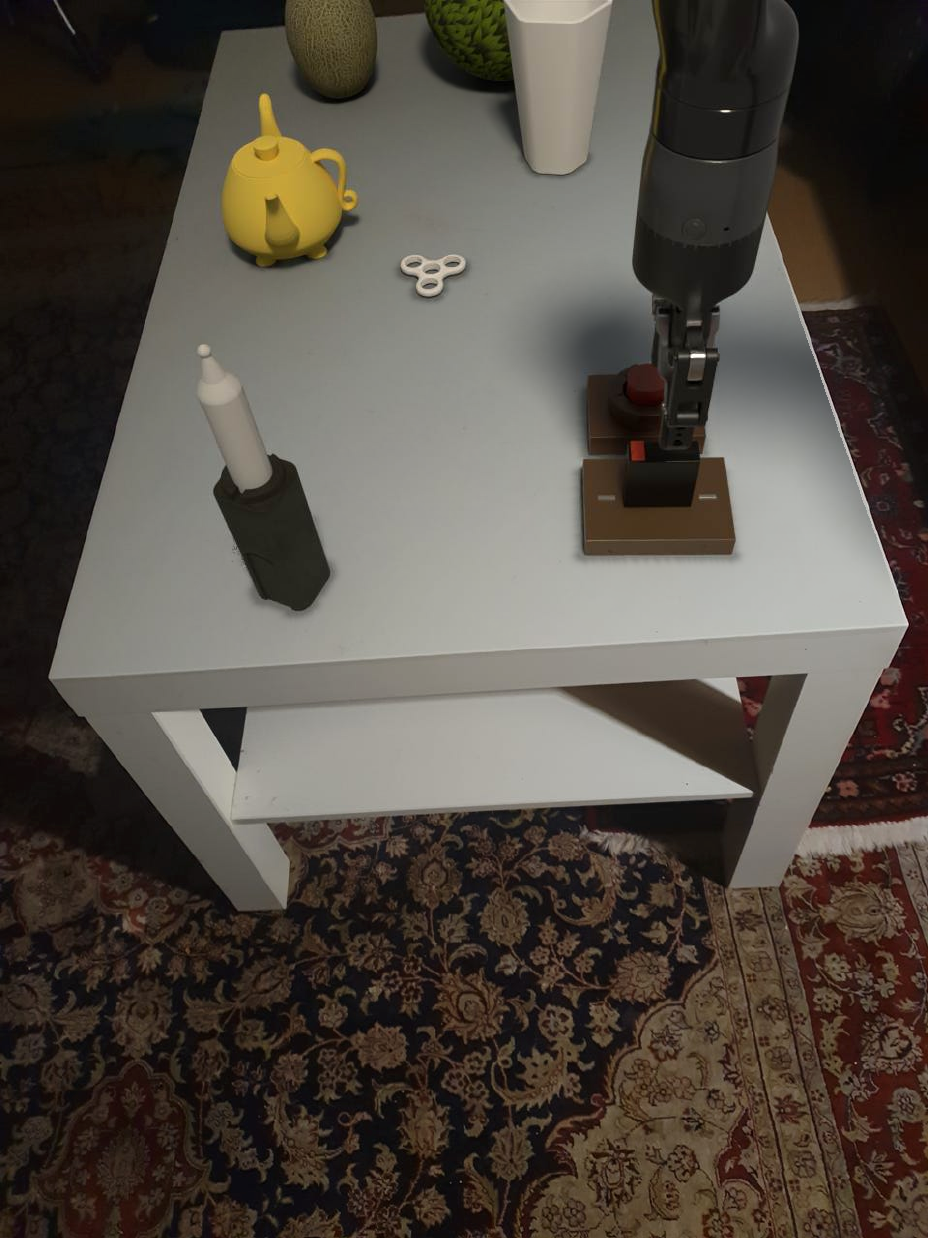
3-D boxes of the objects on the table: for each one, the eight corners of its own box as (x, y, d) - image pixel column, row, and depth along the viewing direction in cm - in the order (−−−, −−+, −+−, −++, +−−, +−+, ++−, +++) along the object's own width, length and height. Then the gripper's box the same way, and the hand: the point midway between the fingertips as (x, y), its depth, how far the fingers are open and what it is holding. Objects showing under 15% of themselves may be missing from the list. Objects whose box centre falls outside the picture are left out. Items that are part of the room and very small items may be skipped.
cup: (558, 195, 104) (561, 33, 90) (492, 165, 108) (484, 6, 94) (619, 150, 108) (631, -12, 94) (553, 123, 112) (554, -36, 98)
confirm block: (694, 390, 86) (700, 356, 83) (702, 453, 82) (709, 420, 78) (586, 392, 87) (588, 359, 83) (589, 455, 82) (591, 422, 79)
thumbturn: (689, 486, 77) (698, 438, 72) (691, 507, 76) (701, 459, 71) (622, 487, 77) (628, 439, 73) (623, 507, 76) (629, 460, 71)
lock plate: (720, 472, 80) (724, 455, 78) (731, 555, 75) (736, 538, 74) (582, 474, 81) (583, 457, 80) (584, 555, 76) (585, 539, 75)
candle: (335, 568, 78) (259, 328, 57) (305, 614, 75) (213, 383, 54) (284, 550, 79) (191, 310, 58) (252, 595, 77) (144, 362, 56)
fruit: (282, 93, 121) (252, -36, 108) (348, 60, 125) (327, -69, 112) (335, 124, 116) (310, -8, 103) (403, 88, 120) (386, -44, 107)
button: (665, 377, 82) (668, 362, 81) (668, 406, 80) (671, 391, 79) (625, 378, 82) (626, 363, 81) (627, 407, 80) (628, 392, 79)
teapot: (372, 284, 98) (354, 183, 88) (234, 306, 98) (200, 207, 88) (355, 179, 109) (337, 79, 99) (231, 198, 109) (201, 100, 99)
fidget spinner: (467, 258, 99) (466, 252, 98) (461, 297, 95) (461, 291, 95) (402, 259, 100) (402, 253, 99) (395, 298, 96) (394, 291, 96)
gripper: (785, 276, 50) (732, 476, 64) (752, 130, 58) (711, 337, 71) (645, 280, 51) (622, 477, 64) (631, 135, 58) (613, 339, 72)
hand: (669, 403), depth 68 cm, fingers open, 8 cm apart
